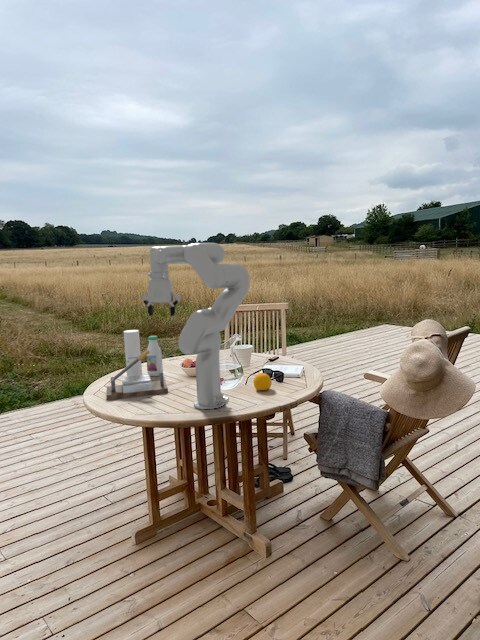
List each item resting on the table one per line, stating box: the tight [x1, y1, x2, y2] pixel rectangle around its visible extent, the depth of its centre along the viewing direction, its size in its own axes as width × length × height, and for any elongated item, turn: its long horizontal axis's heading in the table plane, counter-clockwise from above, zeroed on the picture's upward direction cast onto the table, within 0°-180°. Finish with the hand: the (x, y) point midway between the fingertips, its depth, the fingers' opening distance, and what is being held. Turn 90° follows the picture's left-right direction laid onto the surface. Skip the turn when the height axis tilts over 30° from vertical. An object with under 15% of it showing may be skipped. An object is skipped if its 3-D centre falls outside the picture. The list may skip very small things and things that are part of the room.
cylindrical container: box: [123, 329, 143, 377], centre depth 217 cm, size 7×7×25 cm
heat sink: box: [110, 370, 165, 393], centre depth 202 cm, size 23×14×6 cm, turn 106°
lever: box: [112, 348, 150, 381], centre depth 201 cm, size 20×4×1 cm
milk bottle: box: [145, 335, 164, 377], centre depth 229 cm, size 8×8×20 cm
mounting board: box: [106, 380, 169, 401], centre depth 203 cm, size 26×14×2 cm, turn 106°
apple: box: [253, 372, 272, 391], centre depth 198 cm, size 8×8×8 cm
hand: (161, 315), depth 196 cm, fingers open, 9 cm apart
